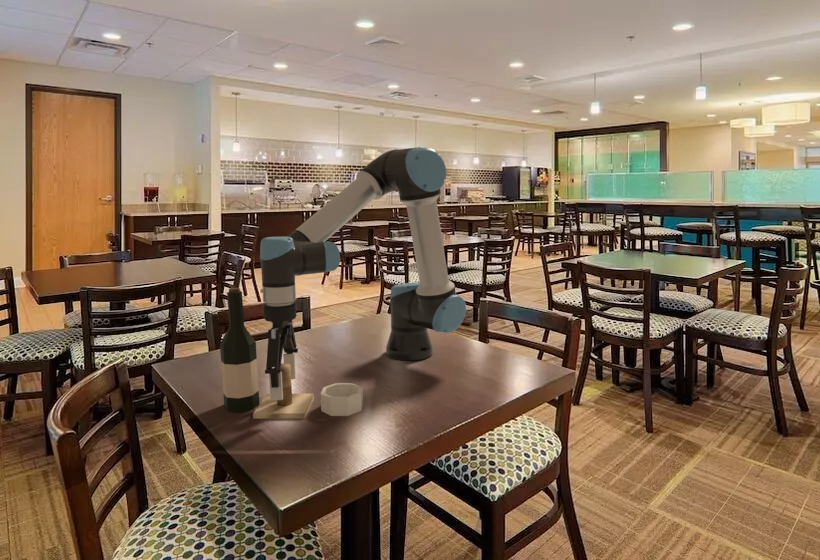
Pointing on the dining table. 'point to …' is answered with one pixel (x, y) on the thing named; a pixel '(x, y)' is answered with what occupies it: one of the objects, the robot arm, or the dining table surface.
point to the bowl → (341, 399)
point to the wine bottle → (238, 360)
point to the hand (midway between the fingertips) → (283, 388)
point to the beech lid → (285, 401)
